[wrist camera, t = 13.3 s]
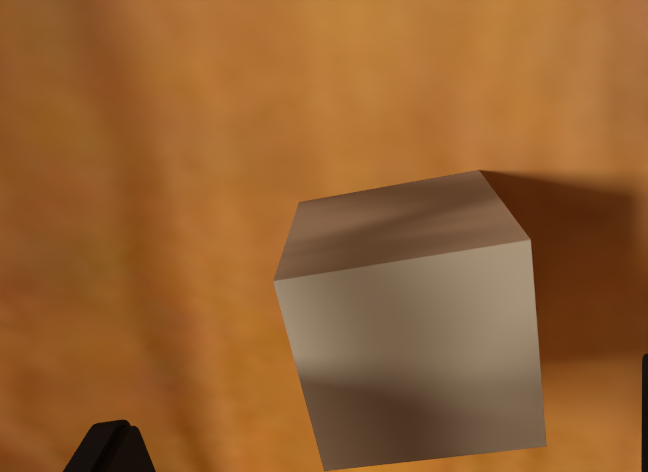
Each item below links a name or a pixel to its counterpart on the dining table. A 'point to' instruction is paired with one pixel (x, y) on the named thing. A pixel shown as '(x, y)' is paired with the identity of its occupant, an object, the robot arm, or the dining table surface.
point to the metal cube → (413, 323)
